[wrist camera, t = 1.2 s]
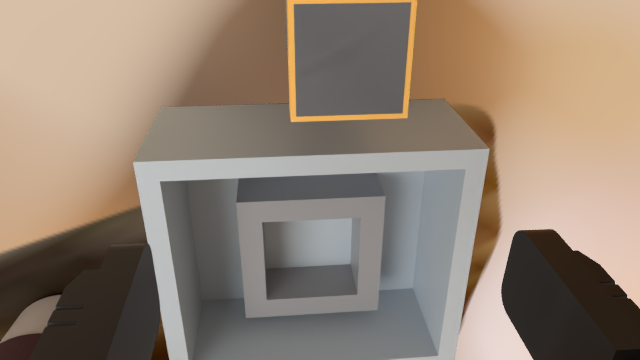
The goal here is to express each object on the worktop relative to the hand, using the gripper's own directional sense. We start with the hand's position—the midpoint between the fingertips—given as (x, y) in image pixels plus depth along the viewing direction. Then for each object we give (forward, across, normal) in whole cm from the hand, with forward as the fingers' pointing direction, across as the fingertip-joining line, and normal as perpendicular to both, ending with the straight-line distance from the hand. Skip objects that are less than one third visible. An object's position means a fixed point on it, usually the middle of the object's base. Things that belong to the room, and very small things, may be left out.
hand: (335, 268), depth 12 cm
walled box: (+19, -1, +10) cm, 21 cm away
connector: (+19, -2, -2) cm, 19 cm away
